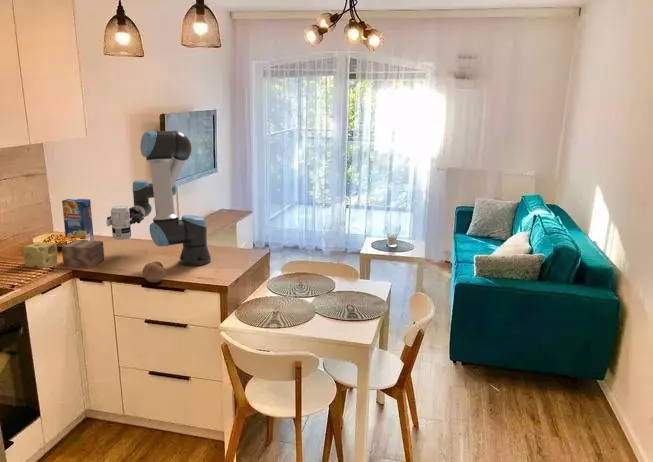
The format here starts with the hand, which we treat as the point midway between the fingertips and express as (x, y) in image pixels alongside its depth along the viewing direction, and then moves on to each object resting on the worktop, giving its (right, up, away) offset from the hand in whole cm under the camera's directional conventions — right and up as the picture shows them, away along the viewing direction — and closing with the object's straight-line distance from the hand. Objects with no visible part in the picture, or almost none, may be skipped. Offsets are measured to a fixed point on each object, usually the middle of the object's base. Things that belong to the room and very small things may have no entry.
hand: (116, 223), depth 241 cm
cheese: (-39, -20, +7) cm, 45 cm away
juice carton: (-39, -10, +46) cm, 61 cm away
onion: (+21, -26, -11) cm, 35 cm away
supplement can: (0, -7, +6) cm, 9 cm away
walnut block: (-20, -19, +11) cm, 30 cm away
